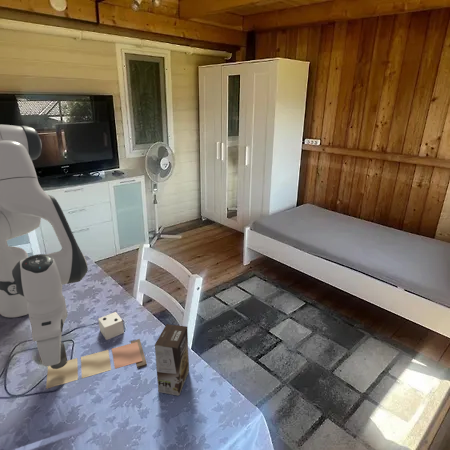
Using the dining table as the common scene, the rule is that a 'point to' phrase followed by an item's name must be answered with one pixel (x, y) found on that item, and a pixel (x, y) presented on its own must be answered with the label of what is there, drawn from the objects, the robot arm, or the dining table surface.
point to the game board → (97, 364)
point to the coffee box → (172, 359)
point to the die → (111, 325)
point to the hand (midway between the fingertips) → (57, 354)
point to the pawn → (61, 358)
